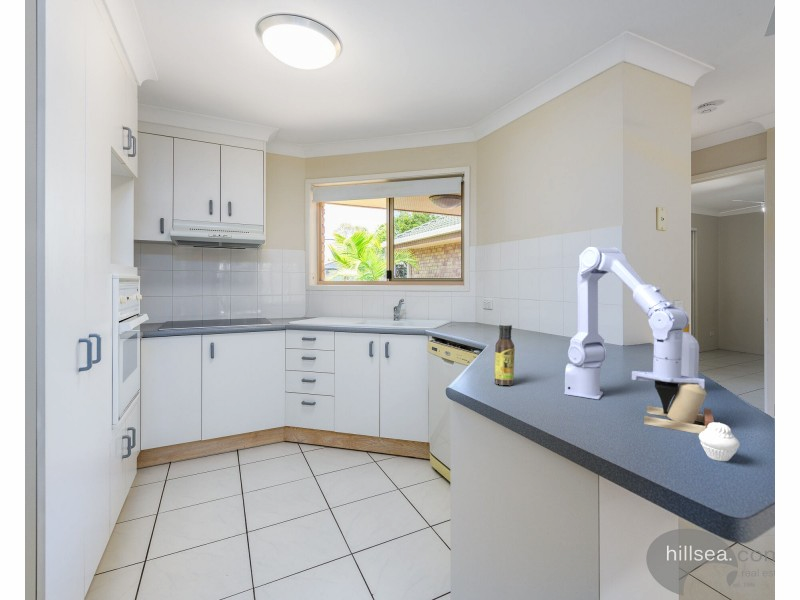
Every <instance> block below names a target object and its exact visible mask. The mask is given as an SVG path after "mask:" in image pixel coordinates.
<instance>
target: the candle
mask: <svg viewBox="0 0 800 600" xmlns="http://www.w3.org/2000/svg"><path fill="white" fill-rule="evenodd" d="M707 394H708V393H707V390H706V389H705V388H704V389H702V387H701V386H699V385H697V384H694V385H693V384H691V383H685V382H683V383H680V384H679V385H678V389H677V391H676V393H675V394H674V396H673V398H672V400H671V402H670V404H669V407H668V412H667V416H666V417H667V418H668V419H670V420H672V421H678V422H684V423H690V424H695V422H696V421H695V420H696V418H697V415H698V414H700V410H701V408H702V406H703V403H704V401H705V398H706V396H707Z"/></svg>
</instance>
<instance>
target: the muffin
mask: <svg viewBox="0 0 800 600" xmlns="http://www.w3.org/2000/svg"><path fill="white" fill-rule="evenodd" d="M698 439H699V441H700V445H701V446H702V448H703V450H704V452H705V454H706V455H707V457H708V458H710V459H711V460H715V461H718V462H729V461H730V460H731V459H732V457H733V456H734V455H735V454H736V452H737V451H738V449H739V447H740V441H739V440H738V439H737V437H735V435H734V433H732V429H731V428H730V426H729V425H728V424H725V423H721V422H715V421H714V422H713V423H710V424H708V426H707V428H706V429H705V431H702V432H701V433H700V434H698Z"/></svg>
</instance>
